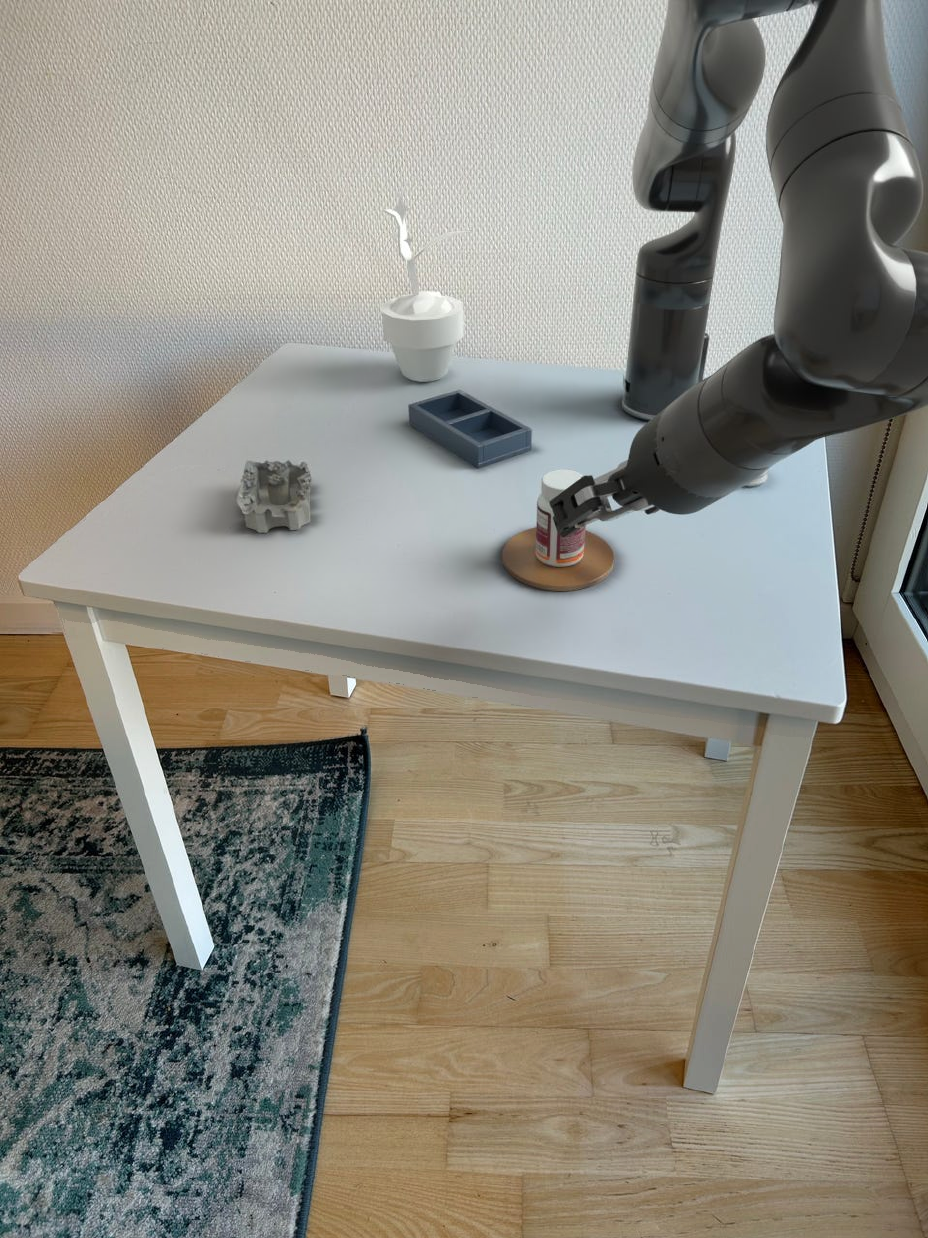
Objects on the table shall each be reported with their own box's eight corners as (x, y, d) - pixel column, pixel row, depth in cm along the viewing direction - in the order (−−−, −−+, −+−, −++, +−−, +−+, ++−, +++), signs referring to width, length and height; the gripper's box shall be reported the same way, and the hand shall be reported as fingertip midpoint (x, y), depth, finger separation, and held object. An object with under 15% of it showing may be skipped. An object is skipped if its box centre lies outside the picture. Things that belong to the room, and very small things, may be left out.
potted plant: (376, 388, 121) (360, 193, 106) (395, 358, 130) (383, 174, 115) (465, 393, 119) (461, 195, 104) (477, 362, 128) (476, 176, 113)
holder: (460, 409, 115) (459, 389, 113) (531, 450, 105) (532, 428, 103) (409, 424, 111) (408, 404, 109) (478, 468, 101) (478, 446, 99)
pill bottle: (588, 546, 86) (594, 470, 81) (577, 571, 83) (582, 494, 77) (542, 538, 87) (545, 463, 82) (529, 563, 84) (531, 486, 79)
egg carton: (311, 531, 90) (306, 497, 88) (239, 536, 90) (231, 501, 88) (316, 482, 99) (311, 450, 96) (250, 486, 98) (244, 454, 96)
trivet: (564, 519, 92) (564, 514, 91) (637, 565, 84) (637, 560, 84) (480, 552, 87) (480, 547, 86) (550, 605, 79) (550, 599, 79)
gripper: (770, 376, 62) (657, 457, 77) (601, 413, 57) (517, 491, 73) (806, 473, 61) (685, 535, 77) (638, 518, 57) (545, 575, 72)
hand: (603, 514), depth 75 cm, fingers open, 8 cm apart
